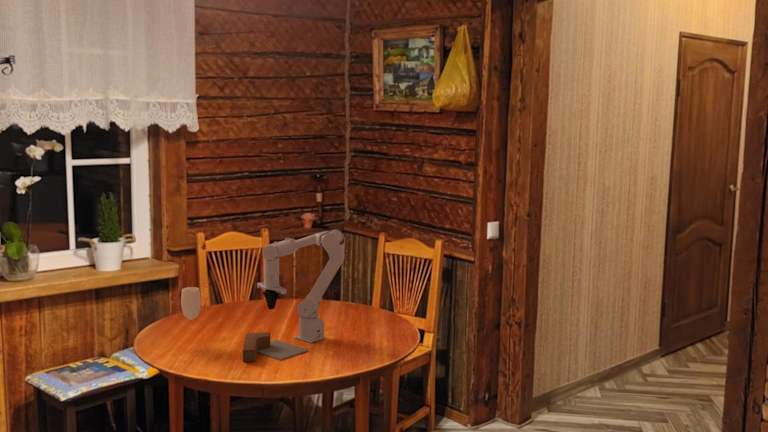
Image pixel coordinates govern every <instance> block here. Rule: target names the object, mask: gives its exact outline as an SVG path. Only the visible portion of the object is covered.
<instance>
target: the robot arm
mask: <svg viewBox="0 0 768 432" xmlns="http://www.w3.org/2000/svg"><path fill="white" fill-rule="evenodd" d="M312 245H317V246H319V247H321V246H322V247H323V249H324V250H325V251H326V253H327V255H328V257H329V259H328V261H327V262H326V264H325V266H324V268H323V269H322V271H321V273H320V275H319V276H318V278H317V280H316V281H315V283H314V284H313V286H312V288H311V289H310V291H309V293H308V294H307V295H306V297H305V298H304V299H303V300H302V301H301V302H300V303H299V304H298V305H297V307H296V308H297V309H296V310H297V314H298V315H299V317H298V319H299V320H298V325H299V327H298V329H299V330H298V335H295V336H294V339H297V340H300V341H303V342H307V343H315V342H318V341H322V340H324V339H326V336H325V322H324V320H323V319H322V318H320V316H319V313H318V310H319V308H320V307H321V306H320V305H321V301H322V299H323V295H324V294H325V293H326V290H327V289H328V287H329V286H330V284H331V282H332V280H333V279H334V277H335V276H336V275H337V272H338V270H339V268H341V266H342V263H343V262H344V260H345V245H346V239H345V236H344V234H343V232H342V231H340V230H339V229H332V230H325V231H321V232H316V233H313V234H311V235H308V236H305V237H303V238H299V239H294V238H293V237H285V238H284V240H281V241H274V242H273V243H270V244H268V245H266V246H264V247H263V248H262V251H261V254H262V257H263V258H264V263H263V265H264V266H263V267H264V268H263V269H264V270H263V272H264V273H263V279H264V280H263V282H262V281H260V282H257V283H256V287H257V289H262V290H263V291H262V295H263V296H264V298H265V301H266V306H267V309H268V310H274V309H275V307H276V303H277V300H278V298H279V297H280V295H286V294H287V288H286V287H283V286H281V285H280V257H285V256H289V255H292V254H295V253H296V252H297V251H298V250H299V249H300V248H303V247H304V248H305V247H308V246H312Z"/></svg>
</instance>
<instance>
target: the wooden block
mask: <svg viewBox="0 0 768 432" xmlns="http://www.w3.org/2000/svg"><path fill="white" fill-rule="evenodd" d="M270 342H271V333H270V331H269V332H268V331H266V332H265V331H264V332H246V333H245V335H244V341H243V346H242V362H243V363H248V362H249V363H251V362H256V361H257V355H258V353H257V351H258V350H259V349H261V348H266V347H270Z"/></svg>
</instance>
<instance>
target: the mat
mask: <svg viewBox="0 0 768 432" xmlns="http://www.w3.org/2000/svg"><path fill="white" fill-rule="evenodd" d="M307 352H309V349H308V348H304V347H300V346H297V345H295V344H291V343H288V342H284V341H282V340H278V339H276V340H272V341H270V347H266V348H261V349H259V350H258V351H257V354H260V355H262V356H266V357H268V358H272V359H275V360H278V361H280V362H281V361H283V360H287V359H289V358H293V357H296V356H298V355H302V354H304V353H307Z"/></svg>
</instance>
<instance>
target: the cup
mask: <svg viewBox="0 0 768 432" xmlns="http://www.w3.org/2000/svg"><path fill="white" fill-rule="evenodd" d="M201 305H202V298H201V290H200V287H197V286H196V287H194V286H189V287H184V288H182V290H181V296H180V307H181V311H182V313H183V316H184V317H185V318H186V319H188V320H190V321H192V320H194V319H196V318H197V317H198V316H200V315H199V314H200V310H201V307H202V306H201Z"/></svg>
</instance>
